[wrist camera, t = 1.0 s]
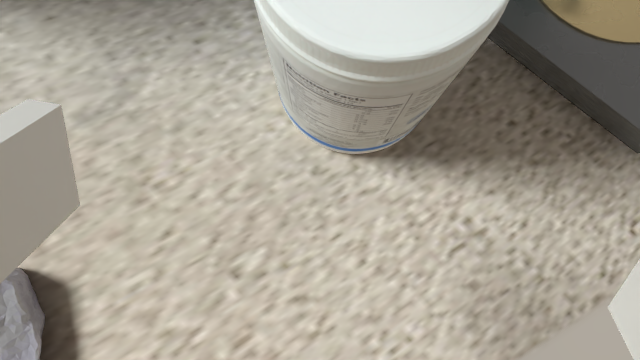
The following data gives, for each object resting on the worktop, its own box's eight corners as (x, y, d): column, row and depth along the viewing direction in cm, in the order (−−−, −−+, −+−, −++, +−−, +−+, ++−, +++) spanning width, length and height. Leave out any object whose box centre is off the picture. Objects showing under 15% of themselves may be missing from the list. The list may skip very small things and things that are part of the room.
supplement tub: (299, -2, 30) (282, -239, 16) (443, 31, 30) (560, -179, 15) (260, 139, 29) (200, 22, 14) (411, 176, 28) (507, 94, 14)
